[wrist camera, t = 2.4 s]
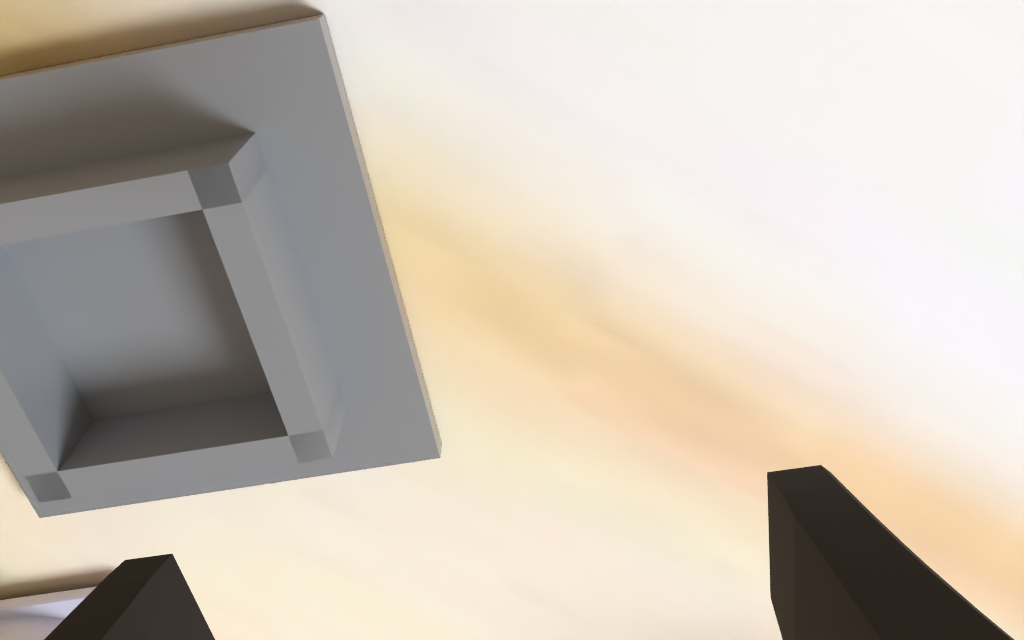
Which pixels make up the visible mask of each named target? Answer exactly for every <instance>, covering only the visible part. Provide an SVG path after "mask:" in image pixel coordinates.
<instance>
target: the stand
mask: <svg viewBox="0 0 1024 640" xmlns="http://www.w3.org/2000/svg"><path fill="white" fill-rule="evenodd" d="M441 445H442V443H441V439H440V436H439V432H438V428H437V425H436V421H435V417H434V414H433V410H432V406H431V403H430V399H429V395H428V392H427V388H426V384H425V381H424V377H423V373H422V370H421V366H420V362H419V359H418V355H417V351H416V348H415V344H414V340H413V337H412V333H411V329H410V325H409V322H408V318H407V314H406V311H405V307H404V303H403V300H402V296H401V292H400V289H399V285H398V281H397V278H396V274H395V270H394V267H393V263H392V259H391V256H390V252H389V248H388V245H387V241H386V237H385V234H384V230H383V226H382V223H381V219H380V215H379V212H378V208H377V204H376V200H375V197H374V193H373V189H372V186H371V182H370V178H369V175H368V171H367V167H366V164H365V160H364V156H363V153H362V149H361V145H360V142H359V138H358V134H357V131H356V127H355V123H354V120H353V116H352V112H351V109H350V105H349V101H348V98H347V94H346V90H345V87H344V83H343V79H342V75H341V72H340V68H339V64H338V61H337V57H336V53H335V50H334V46H333V42H332V39H331V35H330V31H329V28H328V24H327V20H326V17H325V14H322V15H316V16H311V17H306V18H301V19H296V20H290V21H285V22H280V23H275V24H269V25H264V26H259V27H254V28H249V29H243V30H238V31H233V32H228V33H223V34H217V35H212V36H207V37H202V38H197V39H191V40H186V41H181V42H176V43H171V44H165V45H160V46H155V47H150V48H145V49H139V50H134V51H129V52H124V53H119V54H113V55H108V56H103V57H98V58H93V59H87V60H82V61H77V62H72V63H66V64H61V65H56V66H51V67H46V68H40V69H35V70H30V71H25V72H20V73H14V74H9V75H4V76H0V452H1V454H2V456H3V457H4V459H5V461H6V462H7V464H8V466H9V467H10V469H11V471H12V472H13V474H14V476H15V477H16V479H17V481H18V482H19V484H20V486H21V488H22V489H23V491H24V493H25V494H26V496H27V498H28V499H29V501H30V503H31V504H32V506H33V508H34V509H35V511H36V513H37V514H38V516H39V518H42V517H49V516H55V515H62V514H69V513H75V512H82V511H89V510H96V509H102V508H109V507H116V506H122V505H129V504H136V503H142V502H149V501H156V500H162V499H169V498H176V497H182V496H189V495H196V494H202V493H209V492H216V491H222V490H229V489H236V488H242V487H249V486H256V485H262V484H269V483H276V482H282V481H289V480H296V479H302V478H309V477H316V476H322V475H329V474H336V473H342V472H349V471H356V470H362V469H369V468H376V467H382V466H389V465H396V464H402V463H409V462H416V461H422V460H429V459H436V458H440V455H441Z"/></svg>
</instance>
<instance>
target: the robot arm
mask: <svg viewBox="0 0 1024 640" xmlns="http://www.w3.org/2000/svg"><path fill="white" fill-rule="evenodd" d="M767 480H768V517H769V554H770V591H771V600H772V604H773V607H774V611H775V614H776V618H777V621H778V624H779V628H780V631H781V635H782V638H783V640H1014V639H1013V638H1011V637H1010V636H1009V635H1008V634H1007V633H1005V632H1004V631H1003V630H1002V629H1001V628H999V627H998V626H997V625H996V624H995V623H993V622H992V621H991V620H990V619H989V618H987V617H986V616H985V615H984V614H983V613H981V612H980V611H979V610H978V609H977V608H975V607H974V606H973V605H972V604H971V603H970V602H969V601H967V600H966V599H965V598H964V597H963V596H962V595H961V594H959V593H958V592H957V591H956V590H955V589H954V588H953V587H951V586H950V585H949V584H948V583H947V582H946V581H945V580H943V579H942V578H941V577H940V576H939V575H938V574H937V573H935V572H934V571H933V570H932V569H931V568H930V567H929V566H927V565H926V564H925V563H924V562H923V561H922V560H921V559H920V558H919V557H918V556H917V555H915V554H914V553H913V552H912V551H911V550H910V549H909V548H908V547H907V546H906V545H905V544H904V543H902V542H901V541H900V540H899V539H898V538H897V537H896V536H895V535H894V534H893V533H892V532H891V531H890V530H889V529H888V528H887V527H885V526H884V525H883V524H882V523H881V522H880V521H879V520H878V519H877V518H876V517H875V516H874V515H873V514H872V513H871V512H870V511H869V510H868V509H867V508H866V507H865V506H864V505H863V504H862V503H861V502H860V501H859V500H858V499H857V498H856V497H855V496H854V495H853V494H852V493H851V492H850V491H849V490H848V489H847V488H846V487H845V486H844V485H843V484H842V483H841V482H840V481H839V480H838V479H837V478H836V477H835V476H834V475H833V474H832V473H831V472H829V471H828V470H827V469H825V468H824V467H823V466H821V465H818V466H811V467H804V468H796V469H789V470H782V471H774V472H767ZM0 640H215V639H214V637H213V635H212V633H211V631H210V629H209V627H208V625H207V623H206V621H205V619H204V617H203V615H202V613H201V611H200V609H199V607H198V605H197V602H196V600H195V598H194V596H193V594H192V592H191V590H190V588H189V586H188V584H187V582H186V580H185V578H184V576H183V574H182V572H181V570H180V568H179V566H178V564H177V562H176V560H175V558H174V556H173V554H167V555H159V556H152V557H145V558H137V559H130V560H125V561H124V562H122V563H121V564H120V565H119V566H118V567H117V568H116V569H115V570H114V571H113V572H112V573H110V574H109V575H108V576H107V577H106V578H105V579H104V580H103V581H102V582H101V583H100V584H99V585H98V586H96V587H89V588H82V589H75V590H68V591H61V592H54V593H47V594H40V595H33V596H26V597H19V598H12V599H5V600H0Z"/></svg>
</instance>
